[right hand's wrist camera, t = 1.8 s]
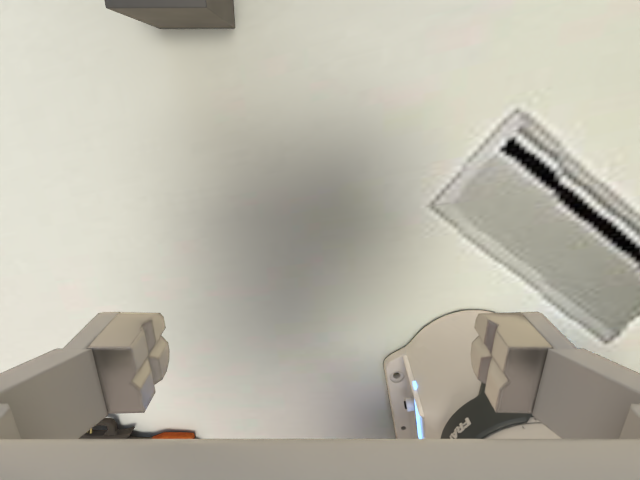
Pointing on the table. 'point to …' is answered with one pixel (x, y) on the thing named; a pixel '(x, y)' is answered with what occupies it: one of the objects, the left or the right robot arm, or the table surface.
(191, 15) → the box
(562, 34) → the table surface
